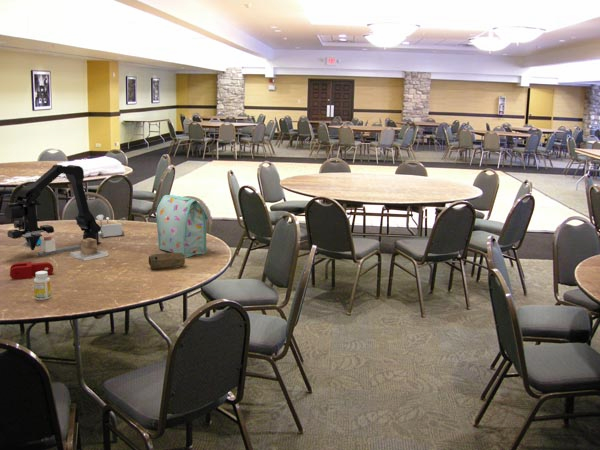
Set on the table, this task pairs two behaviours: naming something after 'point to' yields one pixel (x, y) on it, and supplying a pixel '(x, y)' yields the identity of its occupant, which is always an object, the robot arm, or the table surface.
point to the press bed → (89, 256)
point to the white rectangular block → (47, 244)
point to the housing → (88, 246)
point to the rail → (59, 250)
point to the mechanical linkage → (29, 269)
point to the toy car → (109, 228)
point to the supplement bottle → (42, 286)
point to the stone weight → (166, 260)
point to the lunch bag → (181, 225)
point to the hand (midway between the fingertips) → (32, 250)
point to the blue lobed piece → (37, 242)
